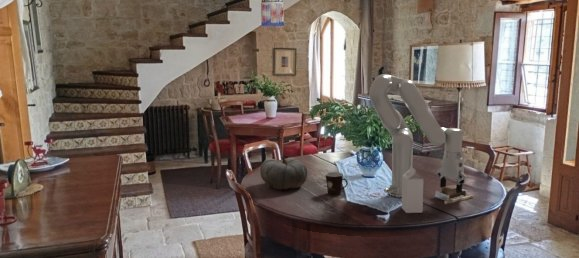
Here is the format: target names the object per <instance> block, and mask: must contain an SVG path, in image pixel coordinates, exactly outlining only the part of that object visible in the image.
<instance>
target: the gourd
mask: <svg viewBox="0 0 579 258" xmlns="http://www.w3.org/2000/svg"><path fill="white" fill-rule="evenodd" d="M260 177H261V179H262V180H263V182H264V183H265V184H266V185H267V186H269V187H271V188H274V189H278V190H281V191H282V190H289V189H292V190H293V189H298V188H300V187H302V186H303V185H304V184H305V182H306V180H307V178H308V169H307V167H306V165H305V163H303V162H302V161H300V160H299V159H298V158H295V157H288V158H285V156H284V155H281V160H280V161H279V160H277V159H275V158H268V159H265V160H264V161H263V162H262V163H261V165H260Z"/></svg>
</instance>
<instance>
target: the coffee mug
mask: <svg viewBox="0 0 579 258" xmlns="http://www.w3.org/2000/svg"><path fill="white" fill-rule="evenodd" d="M325 179H326V181H325V182H326V188H327V195H329V196H332V197H333V196H334V197H335V196H340V195H342V190H343V189H345V188H346V187H348V183H349V182H348V180H347V178H344V173H342V172H339V171H330V172H326V173H325ZM343 181H345V185H344V186H343Z"/></svg>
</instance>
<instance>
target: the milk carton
mask: <svg viewBox="0 0 579 258" xmlns="http://www.w3.org/2000/svg"><path fill="white" fill-rule="evenodd" d="M416 172H417V170H416V169H415V168H413V166H412V167H411V166H410V169H409V170H408V171H407V172H406V173H405V174H403V176H402V198H401V209H402V210H403V211H404V212H405V214H415V213H416V214H418V213H420V214H421V213H423V210H424V209H423V206H424V205H423V202H424V178H423V177H421V176H420V175H419V174H418V173H416Z"/></svg>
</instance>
